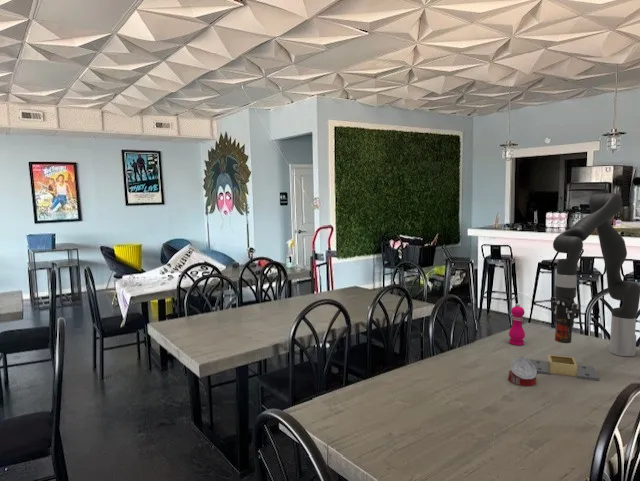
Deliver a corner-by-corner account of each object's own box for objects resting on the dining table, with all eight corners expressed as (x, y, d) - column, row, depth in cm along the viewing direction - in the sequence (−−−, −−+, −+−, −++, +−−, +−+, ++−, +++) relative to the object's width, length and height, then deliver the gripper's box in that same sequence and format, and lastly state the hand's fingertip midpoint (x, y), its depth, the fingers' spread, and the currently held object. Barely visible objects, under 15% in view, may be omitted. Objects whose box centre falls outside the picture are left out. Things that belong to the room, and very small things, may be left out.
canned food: (532, 390, 180) (547, 371, 177) (523, 396, 173) (538, 376, 170) (508, 371, 187) (521, 352, 184) (498, 375, 180) (512, 356, 176)
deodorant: (551, 338, 190) (553, 303, 188) (565, 338, 190) (567, 303, 189) (560, 343, 184) (562, 307, 182) (574, 343, 184) (576, 306, 183)
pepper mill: (526, 346, 218) (527, 305, 216) (510, 345, 219) (511, 304, 217) (522, 341, 225) (524, 301, 223) (507, 340, 226) (508, 301, 224)
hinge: (593, 368, 190) (593, 358, 189) (599, 380, 178) (599, 369, 177) (528, 361, 199) (528, 351, 199) (529, 372, 187) (529, 361, 187)
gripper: (587, 288, 179) (585, 329, 180) (560, 281, 193) (558, 320, 194) (571, 289, 177) (569, 331, 179) (545, 282, 191) (543, 321, 193)
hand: (563, 325), depth 186 cm, fingers closed on deodorant, 6 cm apart
